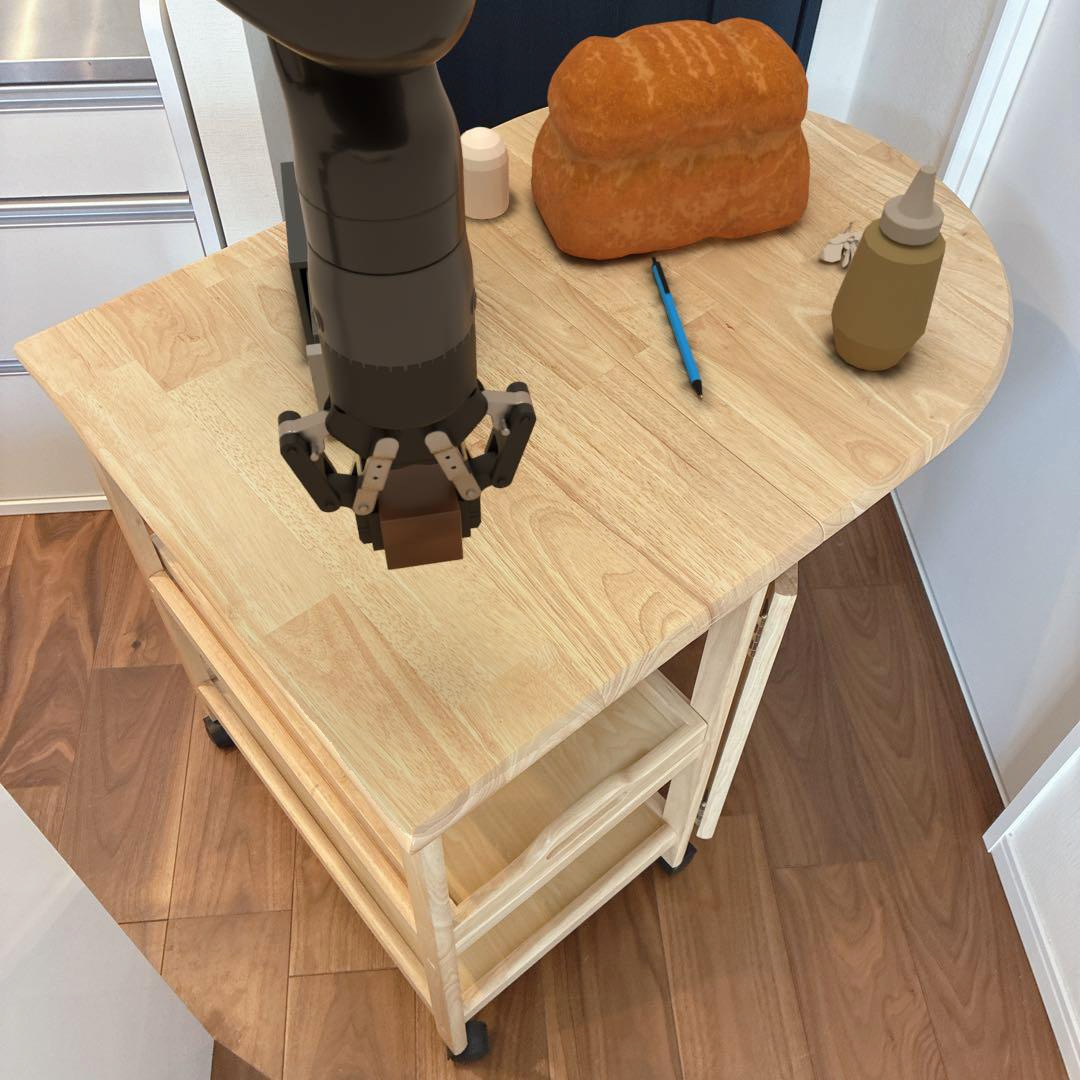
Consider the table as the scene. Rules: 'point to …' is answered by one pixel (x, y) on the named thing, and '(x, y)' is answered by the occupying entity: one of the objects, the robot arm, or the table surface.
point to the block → (420, 517)
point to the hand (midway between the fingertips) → (420, 532)
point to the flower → (836, 244)
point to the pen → (677, 327)
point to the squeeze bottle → (891, 279)
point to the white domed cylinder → (485, 173)
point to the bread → (672, 139)
